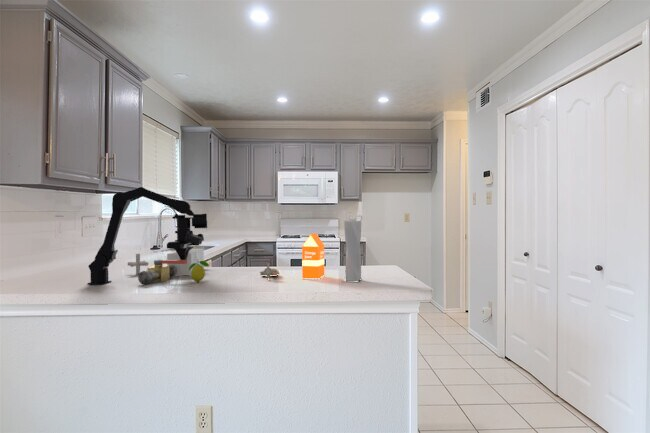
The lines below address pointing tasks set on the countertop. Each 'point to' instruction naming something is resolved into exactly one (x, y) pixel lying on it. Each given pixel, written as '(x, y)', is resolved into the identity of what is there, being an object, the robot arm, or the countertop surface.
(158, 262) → the lever
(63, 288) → the countertop surface
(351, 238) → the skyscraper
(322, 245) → the orange juice
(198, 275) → the lemon
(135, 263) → the pipe connector
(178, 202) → the robot arm
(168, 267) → the valve body
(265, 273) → the valve
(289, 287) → the countertop surface
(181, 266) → the storage container
